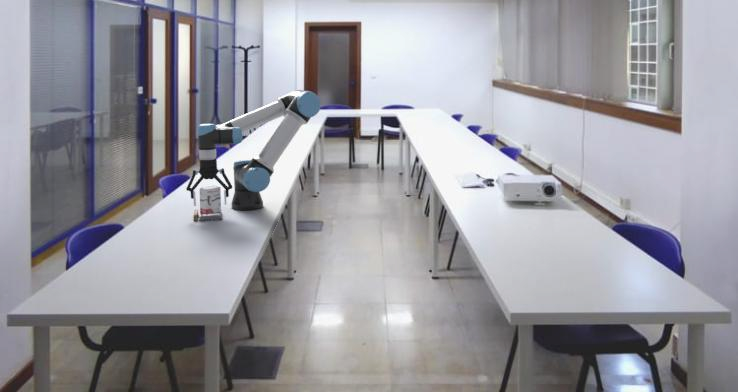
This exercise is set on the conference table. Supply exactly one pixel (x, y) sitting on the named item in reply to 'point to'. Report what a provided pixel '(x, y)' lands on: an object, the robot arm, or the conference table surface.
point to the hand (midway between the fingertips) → (210, 204)
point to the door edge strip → (195, 215)
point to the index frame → (210, 216)
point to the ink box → (210, 200)
